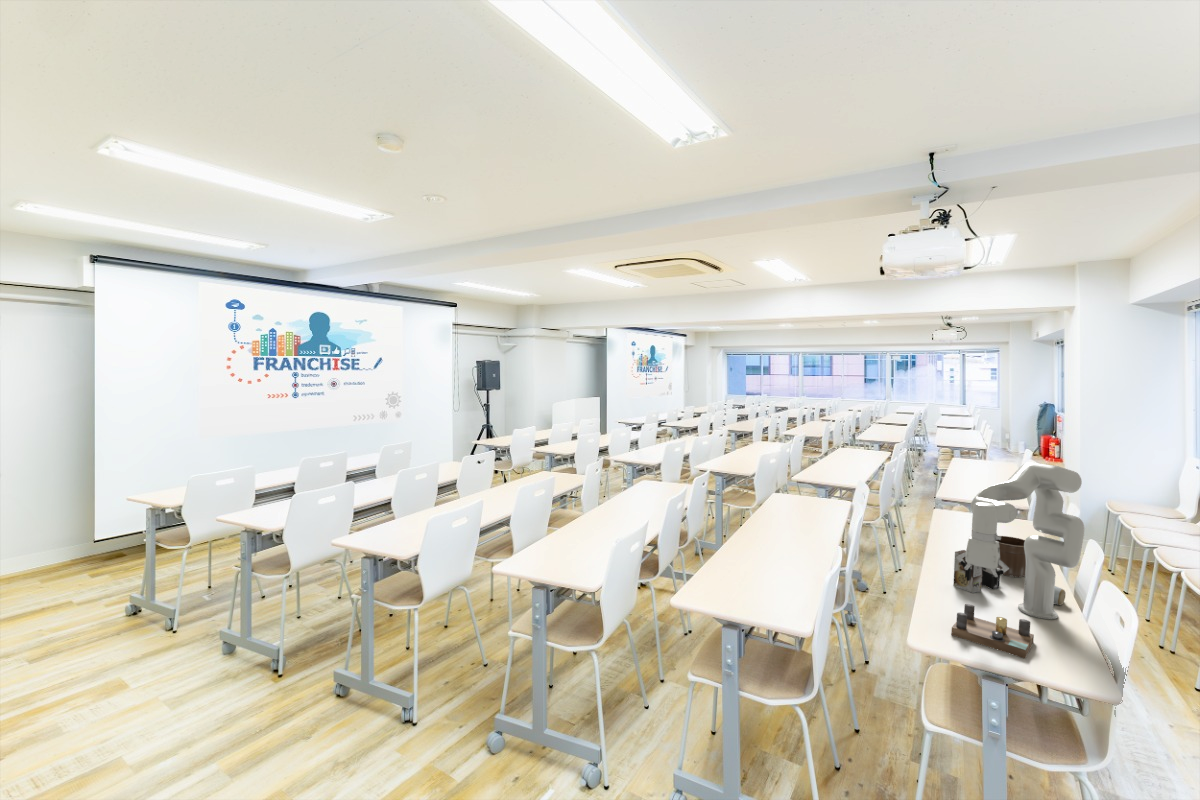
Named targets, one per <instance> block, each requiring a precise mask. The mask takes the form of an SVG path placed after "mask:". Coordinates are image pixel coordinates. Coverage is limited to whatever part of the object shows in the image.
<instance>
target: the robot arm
mask: <svg viewBox="0 0 1200 800" xmlns="http://www.w3.org/2000/svg"><path fill="white" fill-rule="evenodd" d="M1081 487H1082V477H1081V475H1080V474H1079V473H1078V472H1077V471H1074V470H1071V469H1068V468H1065V467H1061V466H1059V465H1058V466H1057V465H1054V464H1053V465H1052V464H1045V463H1039V462H1031V461H1030V462H1026V463H1023V464H1021V466H1020V467H1019V468H1018V469H1017V470H1016V471H1015V472H1014V473H1013V474H1012V475H1011V477H1009V478H1008V480H1006V481H1003V482H999V483H996V484H993V485H990V486H987V487H985V488H983V489H981V490H979V492H978V493H977V494H976V495H975V496H974V498H973V499H972V500H971V502H970V507H969V509H970V511H971V513H972V516H971V517H972V519H971V520H972V521H971V522H972V523H971V535H970V536H969V537H968V541H967V544H966V552H965V553H963V554H961V555H958V556H957V557H956V558H957V559H958V561H959V562H960V564H961V565H962V566H963V567H964V569H965V577H966V578H967V581H969V580H970V579H971V569H970V567H971V565H975V566H979V567H984V568H988V569H991V571H992V573H993V576H992V583H991V586H992V587H994V586H995V585H997V583H998V576H999V575H1000V576H1001V575H1002V574H1003V573H1004V572H1006V571H1007V570H1008V569H1009V567H1008V566H1007V565H1006V564H1004V563H1003V562H1002V561H1001V560H1000V548H999V542H998V541H996V540H1001V536H1002V535H998V531H997V529H998V523H1000V524H1002V523H1003V524H1007V523H1008V524H1009V523H1011V522H1013V521H1015V520H1016V519H1017V516H1018V510H1017V508H1016V507H1015V506H1014V505H1013V504H1011V503H1010V502H1007V501H1019V500H1025V499H1027V498H1029V497H1030V496H1031V495H1032V493H1033V492H1034V493H1035V497H1036V498H1035V499H1036V500H1035V506H1034V512H1033V519H1032V527H1033V528H1034V530H1035V531H1037V532H1038V533H1042V534H1046V535H1049V536H1054V537H1057V538H1062V539H1063V541H1062V540H1058V539H1054V538H1050V537H1048V536H1047V537H1046V536H1042V535H1037V534H1036V535H1029V536H1027V537H1026V538H1025V539H1024V540H1025V542H1024V550H1025V557H1026V570H1025V576H1024V589H1023V602H1021V603H1019V604H1018V606H1017V608H1018V611H1020V612H1022V613H1023V614H1026V615H1028V616H1031V617H1033V618H1039V619H1043V620H1056V619H1058V617H1059V614H1058V612H1057V611H1056V610H1054V604H1053V603H1054V589H1055V586H1056V576H1057V575H1056V571H1055V568H1054V566H1053V565H1052V564H1054V565H1057V566H1060V567H1064V568H1070V569H1072V568H1075V567H1077V566H1078V565H1079V563H1080V559H1081V555H1082V548H1083V542H1084V536H1085V525H1084V522H1083V520H1082V519H1081V518H1079V517H1078V516H1076V515H1071V514H1067V513H1063V508H1064V497H1063V496H1062V495H1061V493H1060V492H1064V493H1069V494H1071V493H1075V492H1077V491H1079V490H1080V489H1081ZM1005 501H1006V502H1005ZM963 557H965V561H966V562H967V563H968V564H967V563H966V562H965V561H964V560H963V559H962V558H963ZM999 565H1000V566H1001V567H1002V568H1003V569H1001V570H999V571H998V570H997V567H999Z"/></svg>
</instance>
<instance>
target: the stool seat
mask: <svg viewBox="0 0 1200 800" xmlns="http://www.w3.org/2000/svg"><path fill="white" fill-rule="evenodd" d="M963 608H964V611H963V612H956V621H955V623H954V624H953V625H952V626H951V633H950V635H951V636H953V637H957V638H959V639H962V640H965V639H966V641H968V640H969V641H968V642H972V643H975V644H979V645H981V644H982V645H981V646H984V645H985V647H987V646H988V648H990V647H991V649H993V648H994V650H997V649H998V650H997V651H1000V652H1004V653H1007V654H1009V653H1010V654H1009V655H1012V654H1013V655H1012V656H1016V657H1019V658H1022V659H1026V658H1027V657H1028V654H1029V652H1030V650H1031V648H1032V646H1033V645H1034V641H1035V640H1034V638H1035V637H1034V636H1035V635H1034V634H1033V633H1031V621H1030V620H1027V619H1024V618H1019V620H1018V629H1016V628H1012V627H1008V626H1007V632H1006V634H1003V640H997V639H994V638H993V637H992V631H996V622H992V621H989V620H985V619H981V618H979V617H975V605H973V604H971V603H965V604H964V607H963Z"/></svg>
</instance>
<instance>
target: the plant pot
mask: <svg viewBox="0 0 1200 800" xmlns="http://www.w3.org/2000/svg"><path fill="white" fill-rule="evenodd" d="M1000 536H1001V540H996V541H998V542H999V548H1000V560H1001V561H1002V562H1003V563H1004V564H1006V565H1007V566H1008V567H1009V569H1008V570H1007V571H1006V572H1004V573H1003V576H1005V575H1006V576H1007V577H1013V578H1023V577H1024V578H1025V570H1026V557H1025V550H1024V542H1025V540H1026V539H1022V538H1019V537H1014V536H1008V535H1000ZM997 568H999V569H1000V570H1001V569H1003V568H1002V567H1001V566H1000V565H999V567H997Z"/></svg>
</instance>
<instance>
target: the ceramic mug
mask: <svg viewBox="0 0 1200 800" xmlns="http://www.w3.org/2000/svg"><path fill="white" fill-rule="evenodd" d="M1065 600H1066V591H1065V589H1063V588H1062V587H1059V586H1056V585H1055V589H1054V603H1053V605H1056V604H1057V605H1056V606H1061V605H1063V604H1064V602H1065Z"/></svg>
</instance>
